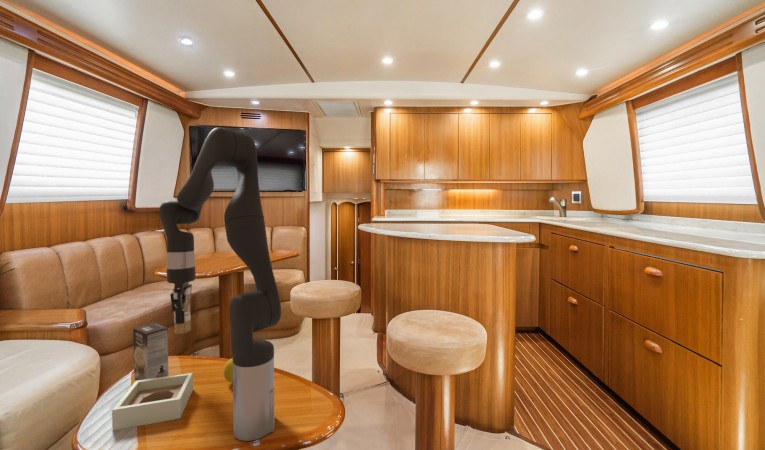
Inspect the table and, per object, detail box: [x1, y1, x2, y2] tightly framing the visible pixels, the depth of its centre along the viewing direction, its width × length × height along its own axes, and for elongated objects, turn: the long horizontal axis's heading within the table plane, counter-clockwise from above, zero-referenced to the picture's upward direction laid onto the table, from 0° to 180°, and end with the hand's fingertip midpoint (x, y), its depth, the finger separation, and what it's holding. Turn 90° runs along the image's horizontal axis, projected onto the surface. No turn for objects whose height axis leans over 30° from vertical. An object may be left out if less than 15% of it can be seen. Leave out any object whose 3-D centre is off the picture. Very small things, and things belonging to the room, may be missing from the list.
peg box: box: [111, 372, 194, 431], centre depth 84 cm, size 14×14×5 cm
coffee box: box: [132, 321, 169, 381], centre depth 100 cm, size 9×6×16 cm
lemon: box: [223, 357, 233, 384], centre depth 97 cm, size 6×6×8 cm
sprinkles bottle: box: [173, 288, 192, 334], centre depth 98 cm, size 5×5×14 cm
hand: (182, 320), depth 98 cm, fingers closed on sprinkles bottle, 4 cm apart
